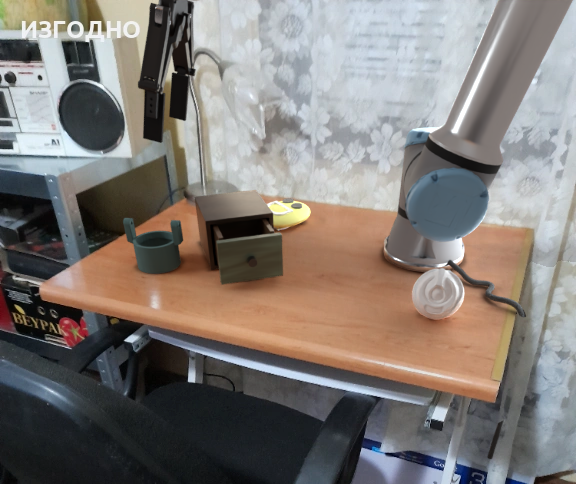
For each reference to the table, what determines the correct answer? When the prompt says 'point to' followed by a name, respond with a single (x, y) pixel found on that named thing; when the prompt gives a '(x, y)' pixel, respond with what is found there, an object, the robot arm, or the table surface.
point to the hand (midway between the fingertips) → (166, 128)
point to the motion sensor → (438, 294)
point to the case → (227, 214)
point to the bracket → (156, 247)
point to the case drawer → (247, 250)
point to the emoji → (288, 213)
